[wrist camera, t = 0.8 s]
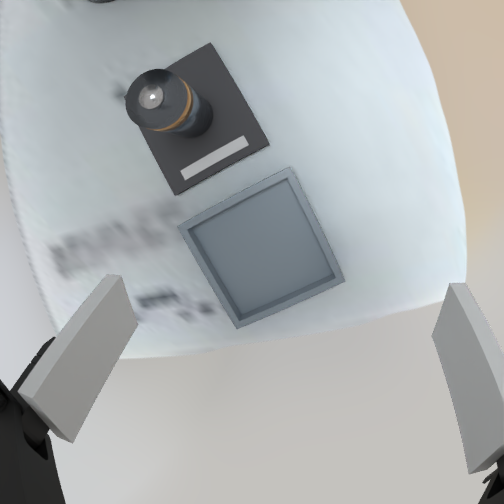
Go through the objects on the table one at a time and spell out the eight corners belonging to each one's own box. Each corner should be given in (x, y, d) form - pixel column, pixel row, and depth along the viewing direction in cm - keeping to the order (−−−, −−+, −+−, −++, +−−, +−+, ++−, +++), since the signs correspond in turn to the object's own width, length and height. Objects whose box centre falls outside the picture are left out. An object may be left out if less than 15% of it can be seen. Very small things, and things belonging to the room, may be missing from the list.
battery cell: (162, 109, 33) (113, 90, 22) (200, 86, 32) (164, 54, 21) (182, 146, 34) (137, 140, 23) (221, 123, 33) (192, 105, 22)
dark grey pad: (126, 97, 33) (123, 96, 32) (211, 44, 31) (210, 41, 30) (176, 195, 36) (174, 195, 35) (269, 144, 33) (269, 143, 33)
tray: (183, 222, 37) (177, 226, 34) (289, 166, 34) (290, 166, 32) (239, 319, 39) (236, 329, 37) (341, 273, 37) (345, 281, 34)
